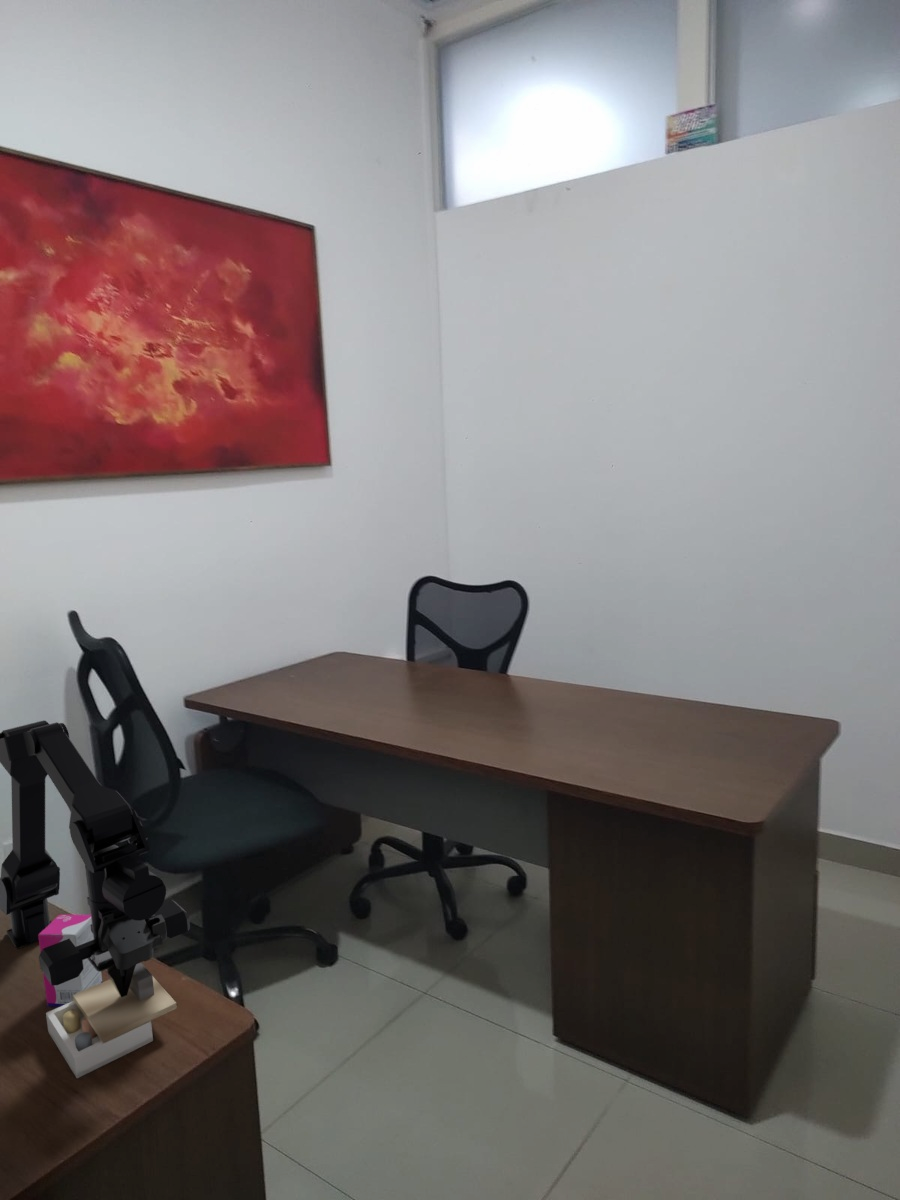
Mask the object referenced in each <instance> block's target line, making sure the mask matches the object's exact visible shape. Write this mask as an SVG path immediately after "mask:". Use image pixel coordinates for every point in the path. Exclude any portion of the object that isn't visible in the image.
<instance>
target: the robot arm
mask: <svg viewBox="0 0 900 1200" xmlns="http://www.w3.org/2000/svg"><path fill="white" fill-rule="evenodd" d="M69 734H70V733H69V730H68V728H67V725H66V724H65V723H64V722H60V723H59V722H53V723H49V722H48V721H47V720H40V721H37V722H31V723H27V724H24V725H20V726H16V727H11V728H7V729H4V730H1V732H0V764H1V766H2V767H3V768H4V770H5V771H6V772H7V773H8V774H9V776H10V779H11V781H10V783H11V785H10V786H11V824H12V825H11V826H12V827H11V828H12V830H11V832H12V833H11V834H12V839H11V840H12V850H11V851H10V852H9V854H8V855H7V857H6V858H5V859H4V861H3V862H2V863H1V869H0V870H1V871H0V910H1V911H2V913H3V914H5V915H6V916H7V915H9V916H10V924H11V928H9V929H7V930H6V935H7V937H8V938H9V939H10V941H11V942H12V944H13V946H14V947H15V949H21V948H23V947H26V946H29V945H31V944H34V943H36V942H39V937H38V935H39V933H41V932H42V931H43V930H44V929H45V928H46V927H47V926H48V925H49V924H50V923H51V922H52V921H51V917H50V910H49V909H50V908H49V905H48V903H49V902H48V899H49V898H51V897H54V896H58V895H59V893H60V879H61V872H60V871H61V868H60V866H58V865H57V862H55V860H54V858H53V857H52V856H51V855H50V853H49V852H48V851H47V850H46V779H47V776H48V777H49V778H50V780H51V783H52V784H53V785H54V787H55V788H56V791H57V792H58V793H59V794H60V796H61V797H62V799H63V801H64V802H65V804H66V806H67V808H68V810H69V811H70V817H69V822H68V823H69V824H68V825H69V826H68V828H69V834H70V838H71V841H72V843H73V845H74V847H75V849H76V851H77V852H78V854H79V857H80V858H81V860H82V861H83V864H84V866H85V867H84V868H85V876H86V885H87V894H88V896H87V898H86V899H87V900H86V901H87V905H88V907H89V909H90V910H89V911H90V915H91V920H92V924H91V932H92V933H93V936H94V940H92V941H89V942H86V943H84V944H81V945H79V946H76V947H75V945H74V944H73V943H72V942H71V940H70V939H67V940H64V941H61V942H59V943H56V944H54V945H51V946H48V947H46V948H43V949H42V951H41V952H40V953H39V955H38V963H39V969H40V970H41V971H42V974H43V973H44V974H45V976H46V978H47V979H48V981H49V982H50V984H51V985H59V984H62V983H64V982H67V981H69V980H71V979H74V978H76V977H78V976H79V975H80V973H81V972H82V970H83V969H84V968H83V961H82V960H84V959H88V960H89V961H90V963H91V964H92V965H93V966H94V968H95V969H96V970H97V971H99V972H101V973H102V972H103V971H104V972H106V974H107V975H108V978H109V979H111V981H112V983H113V984H114V986H115V988H116V990H117V991H118V993H119V995H120V996H121V997H124V996H126V995H127V994H128V990H129V987H130V983H131V980H132V976H133V973H134V969H135V967H136V965H137V964H139V963H143V962H148V961H150V960H151V959H152V958H153V956H154V949H155V948H158V947H161V946H162V945H164V941H166V940H167V938H168V939H173V938H175V937H178V936H179V935H182V934H184V933H187V932H188V931H190V929H191V923H190V917H189V914H188V912H187V911H186V910H185V909H184V908H183V907H182V906H181V905H180V904H179V903H178V902H176V901H175V900H173V899H169V900H166V901H165V899H166V895H167V887H166V885H165V884H164V881H163V880H162V879H161V877H159V876H157V874H155V873H153V872H151V871H150V870H149V869H150V868H149V866H148V865H147V864H145V863H143V862H141V861H140V856H141V855H144V854H146V853H149V852H150V846H149V843H148V839H149V836H148V833H147V831H146V829H145V827H144V826H143V824H142V822H141V820H140V818H139V815H138V813H137V812H136V811H135V808H134V807H133V806H132V805H131V804H130V803H128V802H127V801H126V800H125V798H124V797H123V796H122V795H121V793H119V792H118V790H116V789H113V788H109V787H108V786H104V785H102V784H101V783H100V781H99V780H98V779H97V777H96V776H95V774H94V773H93V771H92V770H91V769H90V767H89V765H88V764H87V763H86V761H85V760H84V758H83V756H82V755H81V754H80V753H79V751H78V749H77V748H76V746H75V745H74V743H73V742H72V741H71V739H70V735H69ZM131 838H132V839H133V841H131V842H128V843H125V844H124V845H121V846H118V845H117V844H120V843H123V842H126V841H128V840H130V839H131Z"/></svg>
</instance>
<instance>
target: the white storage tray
mask: <svg viewBox="0 0 900 1200" xmlns="http://www.w3.org/2000/svg"><path fill="white" fill-rule="evenodd" d="M45 1015H46V1016H45V1018H46V1024H47V1031H48V1034H49V1036H50V1037H51V1039H52V1040H53V1042H54V1044H55V1046H56V1047H57V1048H58V1050H59V1053H60V1054H61V1055H62V1057H63V1059H64V1060H65V1062H66V1064H67V1065H68V1066H69V1068H70V1070H71V1072H72V1073H73V1075H74V1076H75V1078H76V1079H80V1078H82V1077H83V1076H85V1075H88V1074H89V1073H91V1072H93V1071H95V1070H98V1069H100V1068H101V1067H103V1066H106V1065H108V1064H109V1063H111V1062H113V1061H114V1062H115V1060H117V1059H119V1058H121V1057H124V1056H126V1055H127V1054H129V1053H131V1052H134V1051H136V1050H137V1049H139V1048H140V1049H141V1048H142V1047H144V1046H146V1045H148V1044H150V1043H151V1042H153V1041H154V1037H153V1025H152V1020H151V1021H149V1022H147V1023H145V1024H143V1025H141V1026H138V1027H136V1028H134V1029H132V1030H130V1031H128V1032H126V1033H124V1034H122V1035H120V1036H118V1037H115V1038H113V1039H111V1040H109V1041H107V1042H105V1043H103V1042H102V1041H101V1039H100V1038H99V1036H98V1035H97V1033H96V1032H95V1031H94V1029H93V1028H92V1026H91V1025H90V1023H89V1022H88V1020H87V1019H86V1018H85V1016H84V1015H83V1013H82V1012H81V1010H80V1009H79V1008H78V1006H77V1005H76V1003H75V1002H74V1001H72V1002H70V1003H68V1004H65V1005H63V1006H61V1007H56V1008H54V1009H52V1010H51V1009H50V1010H49V1011H47V1012H46V1013H45Z"/></svg>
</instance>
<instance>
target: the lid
mask: <svg viewBox="0 0 900 1200" xmlns="http://www.w3.org/2000/svg"><path fill="white" fill-rule="evenodd" d="M172 997H173V996H171V995H170V994H169V993H168V992H167V990H165V988H164V987H163V986H162V985H161V984H160V982H158V980H157V979H156V978H155V977H154V976H153V974H152V972H150V971H149V970H148V968H147V967H145V965H144V964H143V962H141V963H138V964H136V967H135V969H134V973H133V976H132V980H131V983H130V987H129V990H128V994H127V995H126V996H124V997H121V996H120V995H119V993H118V991H117V990H116V988H115V986H114V984H113V983H112V981H111V979H110V978H109V979H106V980H105V981H102V983H100V984H97V985H95V986H93V987H91V988H88V989H86V990H84V991H81V992H79V993H77V994H74V995H73V1000H74V1002H75V1003H76V1005H77V1006H78V1008H79V1009H80V1010H81V1012H82V1013H83V1015H84V1016H85V1018H86V1019H87V1020H88V1022H89V1023H90V1025H91V1026H92V1028H93V1029H94V1031H95V1032H96V1033H97V1035H98V1036H99V1038H100V1039H101V1041H102V1042H103V1043H105V1042H107V1041H109V1040H111V1039H113V1038H115V1037H118V1036H120V1035H122V1034H124V1033H126V1032H128V1031H130V1030H132V1029H134V1028H136V1027H138V1026H141V1025H143V1024H145V1023H147V1022H149V1021H151V1022H152V1021H153V1020H155V1019H158V1018H159V1017H161V1016H163V1015H165V1014H168V1013H169V1012H172V1011H174V1010H176V1009H178V1006H177V1005H178V1003H177V1002H176V1000H174V998H172Z"/></svg>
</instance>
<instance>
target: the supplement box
mask: <svg viewBox="0 0 900 1200" xmlns="http://www.w3.org/2000/svg"><path fill="white" fill-rule="evenodd" d="M91 924H92V920H91V914H58V915H57V916H56V917H55V918H54V919H53V920H52V921H51V923H50V924H49V925H48V926H47V927H46V928H45V929H44V930H43V931H42V932H41V933H39V935H38V937H39V941H38V943H39V951H40V953H41V951H42V949H43V948H46V947H48V946H51V945H54V944H56V943H59V942H61V941H64V940H67V939H70V940H71V942H72V943H73V944H74V945H75V947H76V946H79V945H81V944H84V943H86V942H89V941H92V940H94V936H93V933H92V932H91ZM82 961H83V968H84V969H83V970H82V972H81V973H80V975H79V976H78V977H76V978H74V979H71V980H69V981H67V982H64V983H62V984H59V985H51V984H50V982H49V981H48V979H47V978H46V976H45V974H44V973H43V972H42V975H43V981H44V983H43V984H44V988H45V989H44V990H45V998H46V999H45V1000H46V1006H47V1007H51V1008H53V1007H56V1008H58V1007H61V1006H63V1005H65V1004H68V1003H70V1002H72V1001H74V1000H73V995H74V994H77V993H79V992H81V991H84V990H86V989H88V988H91V987H93V986H95V985H97V984H100V983H102V982H103V977H102V976H103V975H102V971H101V972H99V971H97V970H96V969H95V968H94V966H93V965H92V964H91V963H90V961H89V960H88V959H84V960H82Z"/></svg>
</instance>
